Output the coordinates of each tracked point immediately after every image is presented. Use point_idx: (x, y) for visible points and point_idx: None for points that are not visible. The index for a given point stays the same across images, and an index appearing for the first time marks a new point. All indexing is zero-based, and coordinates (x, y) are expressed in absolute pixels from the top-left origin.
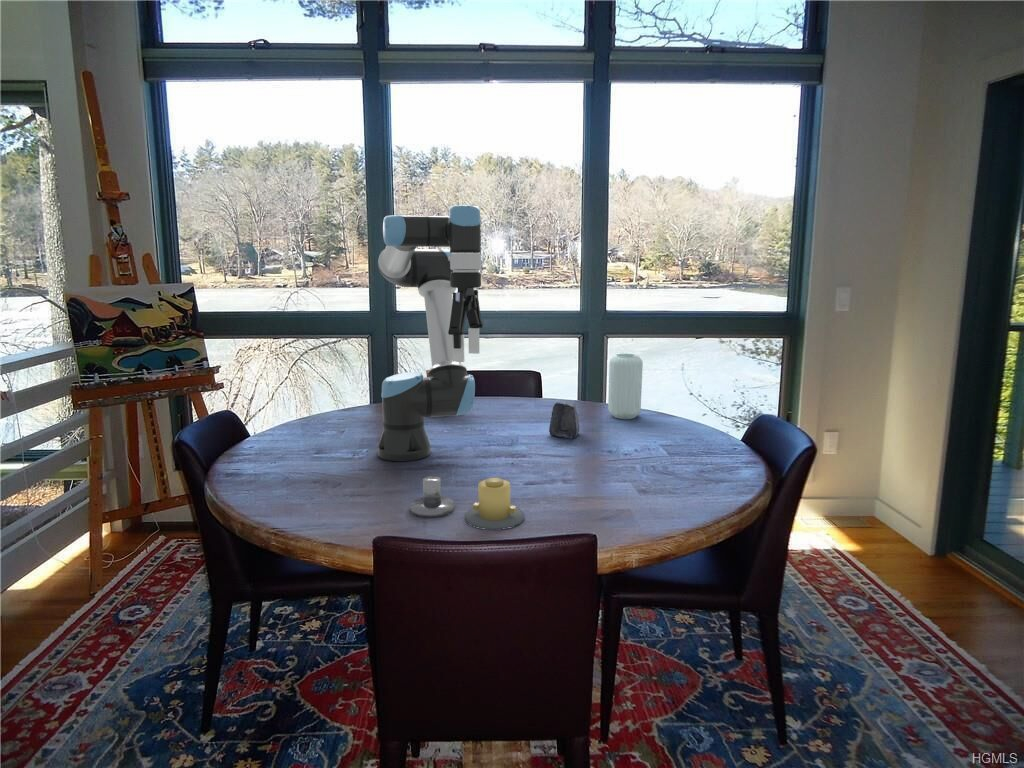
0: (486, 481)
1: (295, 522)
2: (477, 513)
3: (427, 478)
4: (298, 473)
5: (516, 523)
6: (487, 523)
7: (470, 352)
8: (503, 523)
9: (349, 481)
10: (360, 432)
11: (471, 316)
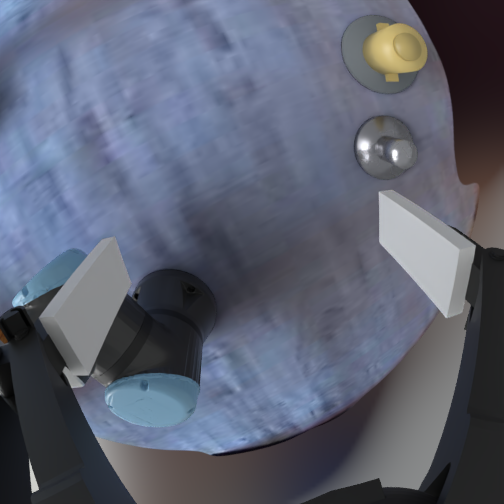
0: (415, 57)
1: None
2: None
3: (403, 163)
4: (307, 368)
5: (394, 22)
6: None
7: (127, 278)
8: None
9: (316, 306)
10: None
11: (80, 427)
